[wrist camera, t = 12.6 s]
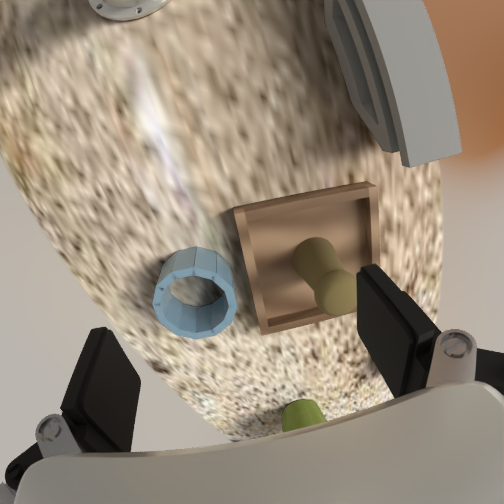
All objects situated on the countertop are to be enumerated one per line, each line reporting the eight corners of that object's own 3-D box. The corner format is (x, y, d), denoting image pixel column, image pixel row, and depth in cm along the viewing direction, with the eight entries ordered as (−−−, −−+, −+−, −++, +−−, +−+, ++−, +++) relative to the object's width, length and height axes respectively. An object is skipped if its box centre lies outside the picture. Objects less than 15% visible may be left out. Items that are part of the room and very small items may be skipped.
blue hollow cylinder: (151, 257, 40) (141, 278, 35) (224, 240, 40) (225, 259, 35) (173, 317, 44) (169, 343, 39) (240, 304, 44) (243, 329, 39)
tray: (232, 207, 39) (234, 214, 36) (366, 181, 39) (376, 186, 36) (259, 323, 46) (261, 335, 43) (371, 294, 46) (379, 304, 44)
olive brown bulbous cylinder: (316, 285, 43) (343, 332, 33) (283, 264, 41) (303, 311, 31) (343, 251, 42) (379, 291, 32) (311, 228, 40) (341, 265, 30)
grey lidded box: (411, 141, 37) (462, 152, 27) (364, 154, 38) (410, 167, 28) (358, -22, 27) (396, -53, 17) (306, -19, 27) (334, -56, 17)
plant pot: (339, 400, 56) (357, 443, 46) (298, 430, 59) (309, 472, 49) (301, 382, 53) (316, 431, 42) (258, 415, 55) (265, 462, 45)
